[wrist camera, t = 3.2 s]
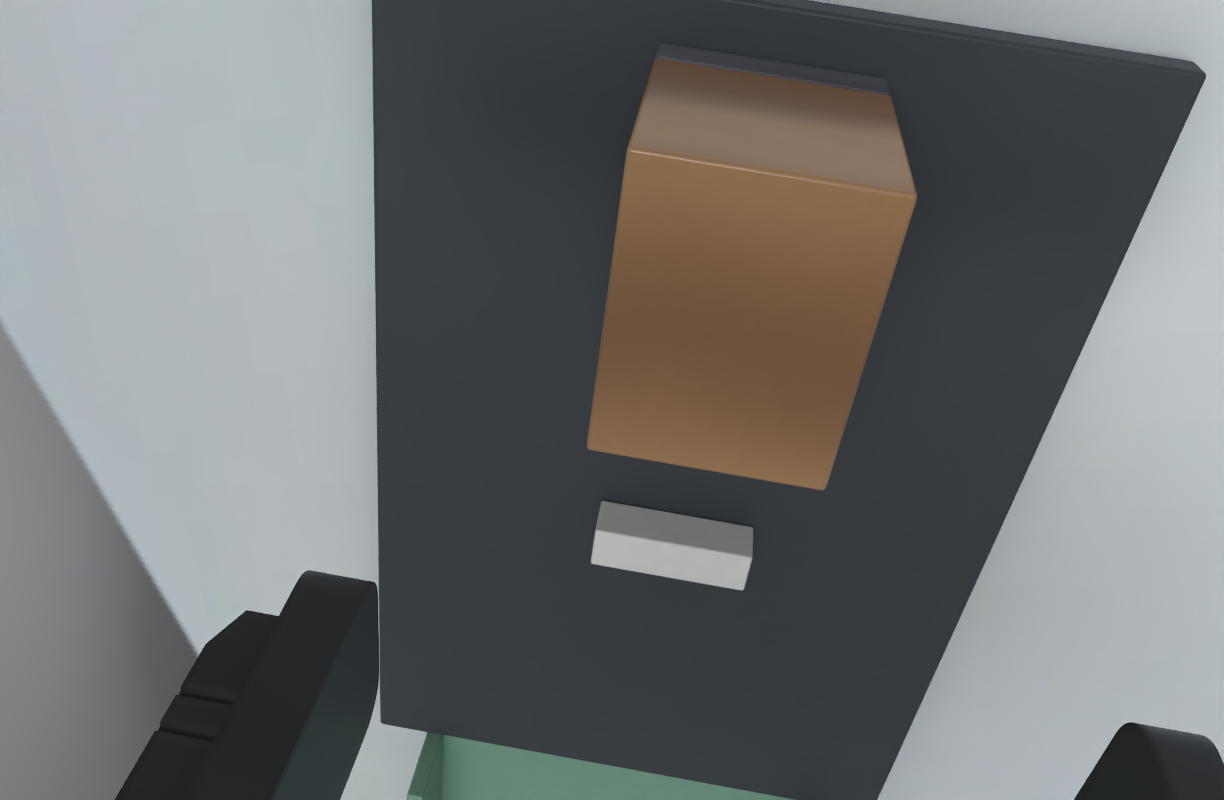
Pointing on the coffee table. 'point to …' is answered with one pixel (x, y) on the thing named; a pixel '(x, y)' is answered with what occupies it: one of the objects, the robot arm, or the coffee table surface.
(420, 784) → the dustpan
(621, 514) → the chalk
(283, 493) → the coffee table surface
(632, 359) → the eraser
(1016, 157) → the slate
